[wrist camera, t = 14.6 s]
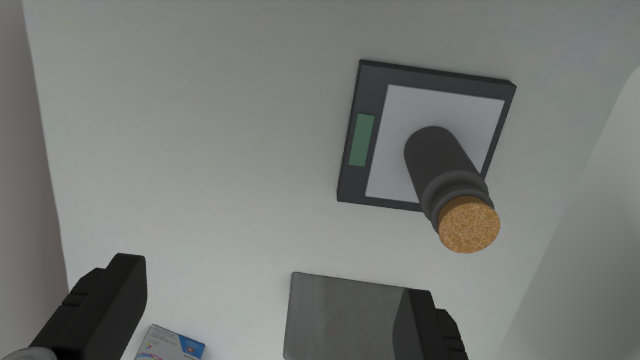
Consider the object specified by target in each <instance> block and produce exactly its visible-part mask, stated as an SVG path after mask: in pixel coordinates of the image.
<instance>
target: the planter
mask: <svg viewBox="0 0 640 360" xmlns="http://www.w3.org/2000/svg"><path fill="white" fill-rule="evenodd" d="M404 289H405V288H401V287H394V286H387V285H380V284H373V283H366V282H359V281H352V280H345V279H338V278H331V277H324V276H317V275H310V274H303V273H297V272H294V273H292V277H291V286H290V294H289V303H288V312H287V321H286V329H285V338H284V349H283V357H284V359H285V360H395V356H394V350H393V343H392V332H393V324H394V321H395V317H396V314H397V310H398V307H399V303H400V300H401V297H402V293H403V291H404Z"/></svg>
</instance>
